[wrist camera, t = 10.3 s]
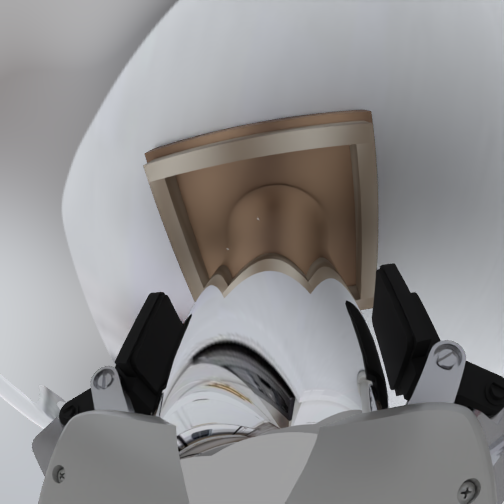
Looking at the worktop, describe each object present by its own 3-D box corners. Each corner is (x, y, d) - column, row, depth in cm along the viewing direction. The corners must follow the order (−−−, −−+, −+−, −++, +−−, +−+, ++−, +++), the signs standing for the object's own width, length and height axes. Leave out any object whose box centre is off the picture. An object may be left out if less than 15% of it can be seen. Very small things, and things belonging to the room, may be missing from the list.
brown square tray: (363, 109, 14) (380, 113, 11) (369, 285, 20) (379, 311, 18) (154, 148, 16) (133, 159, 13) (209, 304, 22) (201, 331, 20)
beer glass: (356, 207, 15) (458, 493, 3) (301, 290, 19) (307, 523, 7) (245, 156, 14) (118, 512, 2) (206, 254, 18) (128, 499, 6)
